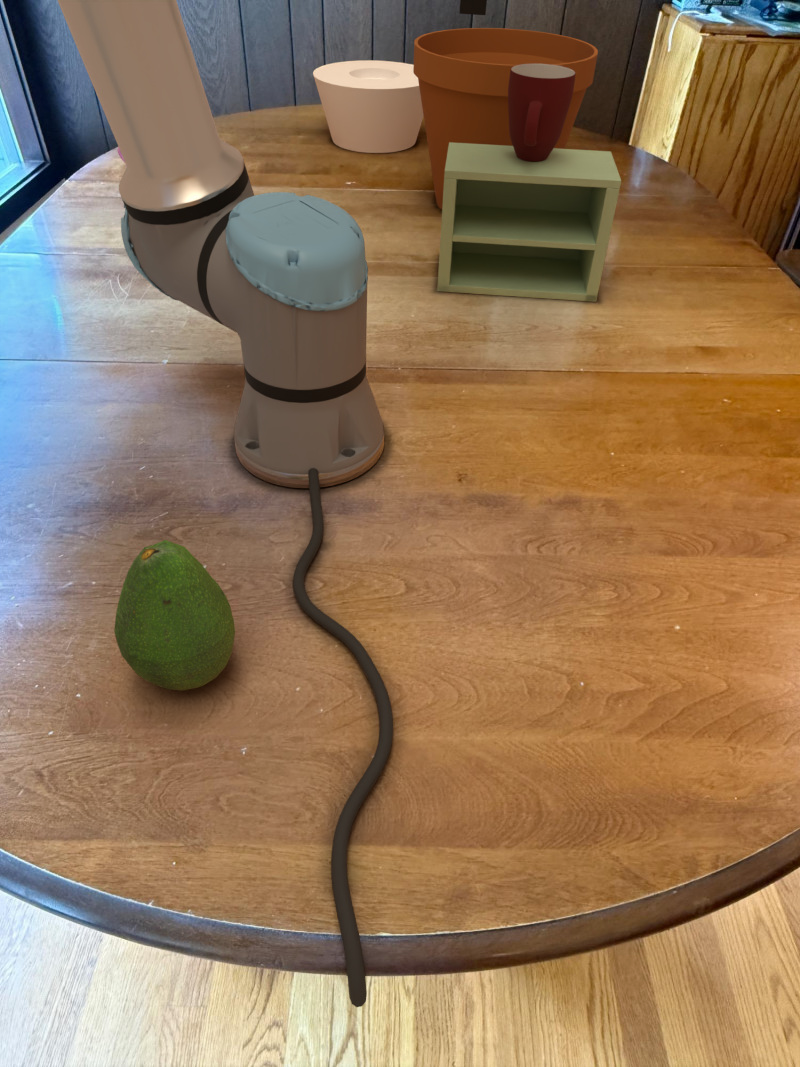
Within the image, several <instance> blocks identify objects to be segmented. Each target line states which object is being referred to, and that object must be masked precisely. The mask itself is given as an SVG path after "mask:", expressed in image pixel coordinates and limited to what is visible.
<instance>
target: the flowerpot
mask: <svg viewBox="0 0 800 1067" xmlns="http://www.w3.org/2000/svg"><path fill="white" fill-rule="evenodd" d="M413 44H414V45H413V65H414V68H413V73H414V74H415V75H416V77H418V82H419V88H420V95H421V102H422V108H423V115H424V116H423V121H424V128H425V136H426V141H427V147H428V154H429V162H430V166H431V167H430V169H431V174H432V176H431V177H432V181H433V189H434V196H435V202H436V203H435V204H436V205H437V207H438V208H439V209H440V210H442V205H443V189H444V173H445V165H446V159H447V153H448V146H449V142H452V143H469V144H487V145H505V146H513V145H512V142H511V138H510V133H509V112H508V85H509V77H510V70H511V68H512V67H513V66H516V65H521V64H551V65H558V66H563V67H567V68H570V69H572V70H574V71H575V72H576V76H575V83H574V90H573V96H572V100H571V103H570V107H569V110H568V113H567V116H566V119H565V123H564V126H563V129H562V132H561V135H560V138H559V140H558V142H557V144H556V145H555V147H554V148H558V149H566V146H567V144H568V141H569V138H570V136H571V132H572V130H573V127H574V124H575V121H576V119H577V116H578V113H579V110H580V108H581V105H582V102H583V99H584V97H585V95H586V92H587V90H588V89H587V88H589V87H591V85H593V83H594V77H595V70H596V65H597V60H598V53H599V50H598V49H597V47H596V46H594V45H593V44H591V43H589V42H587V41H584V40H581V39H578V38H574V37H572V36H567V35H562V34H556V33H551V32H544V31H537V30H528V29H516V28H502V27H501V28H499V27H498V28H497V27H469V28H468V27H467V28H454V29H453V28H452V29H444V30H437V31H431V32H428V33H424V34H421V35H419V36H417V37H416V38H415V39H414V42H413Z"/></svg>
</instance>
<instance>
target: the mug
mask: <svg viewBox="0 0 800 1067" xmlns="http://www.w3.org/2000/svg"><path fill="white" fill-rule="evenodd" d="M575 76H576V72H575V71H574V70H572V69H570V68H567V67H563V66H558V65H551V64H521V65H516V66H513V67H512V68H511V70H510V77H509V85H508V112H509V133H510V138H511V142H512V145H513V148H514V150H515V153H516V156H517V157H518V158H519V159H521V160H524V161H529V162H540V161H544V160H546V159H547V158H548V156H549V155H550V153H551V152H552V150H553V148H554V147H555V145H556V144H557V142H558V140H559V138H560V135H561V132H562V129H563V126H564V123H565V119H566V116H567V113H568V110H569V107H570V103H571V100H572V96H573V90H574V83H575Z"/></svg>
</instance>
